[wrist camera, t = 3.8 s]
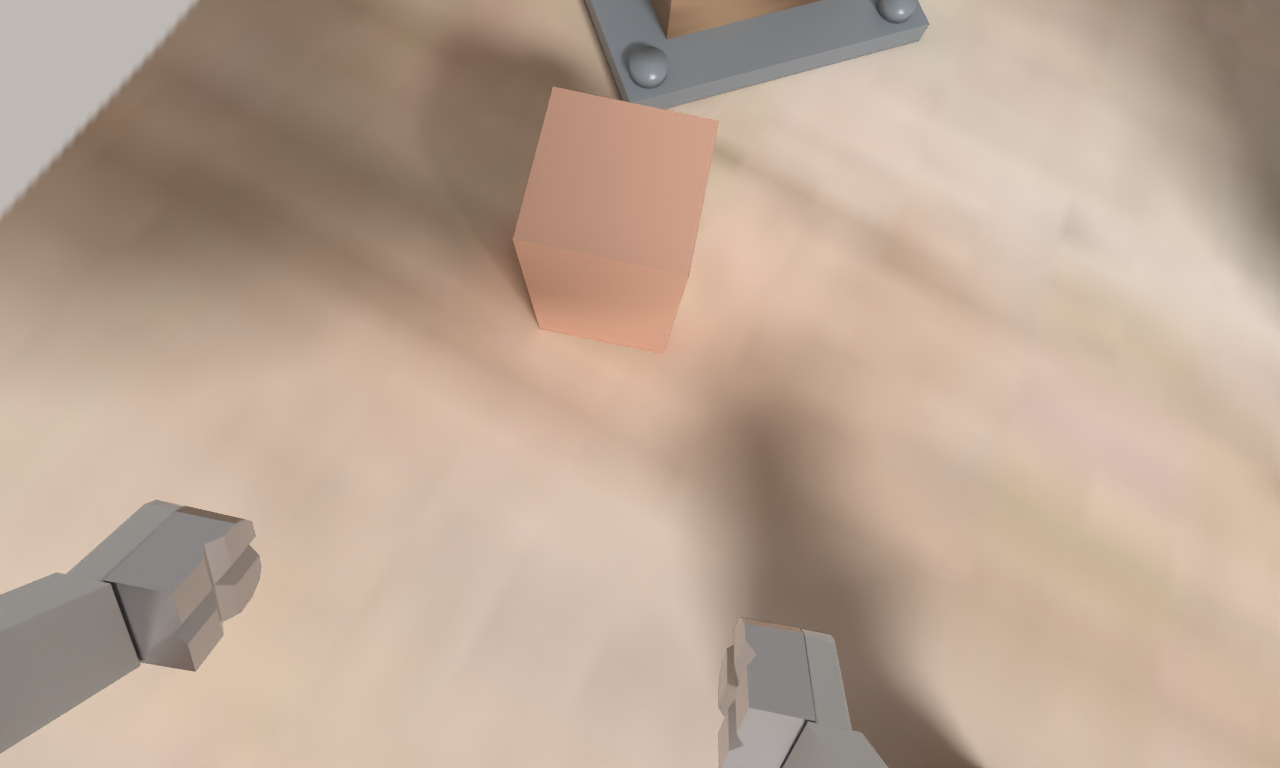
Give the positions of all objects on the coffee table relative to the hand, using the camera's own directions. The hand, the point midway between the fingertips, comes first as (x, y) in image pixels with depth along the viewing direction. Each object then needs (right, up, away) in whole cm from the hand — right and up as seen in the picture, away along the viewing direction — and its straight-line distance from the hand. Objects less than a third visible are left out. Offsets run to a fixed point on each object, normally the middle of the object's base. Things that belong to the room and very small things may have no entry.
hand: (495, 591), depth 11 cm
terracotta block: (+1, +8, +16) cm, 17 cm away
